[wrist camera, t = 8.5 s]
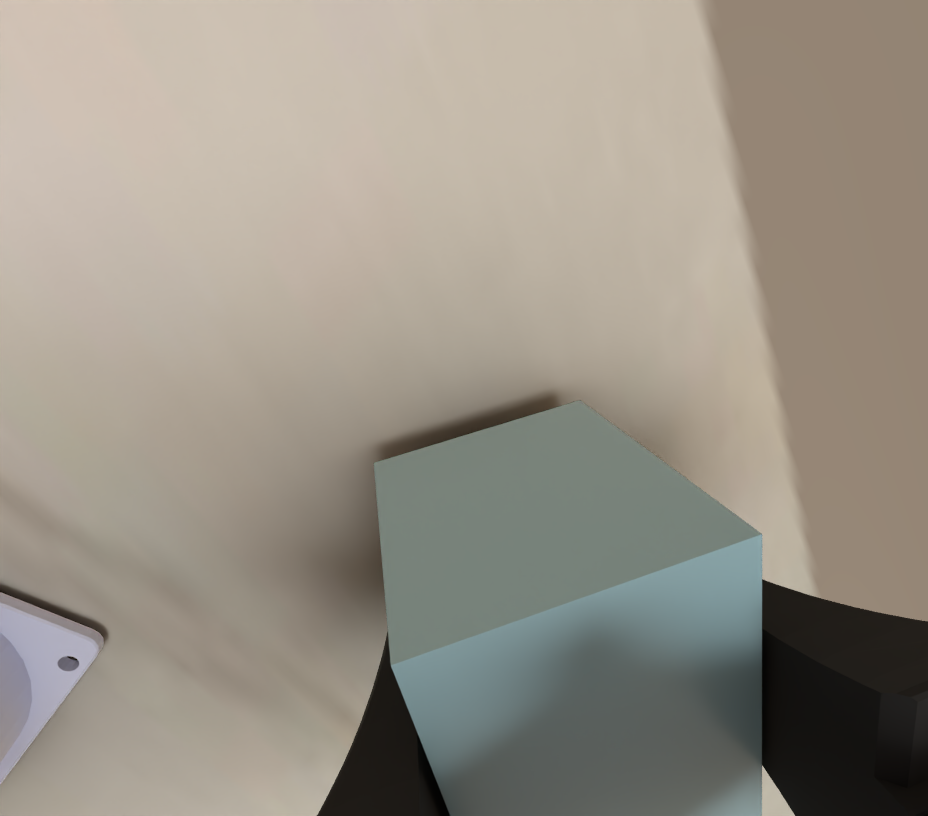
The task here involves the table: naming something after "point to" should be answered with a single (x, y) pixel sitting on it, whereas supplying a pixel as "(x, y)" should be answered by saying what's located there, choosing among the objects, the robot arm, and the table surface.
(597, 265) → the table surface
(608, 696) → the light blue upright block
